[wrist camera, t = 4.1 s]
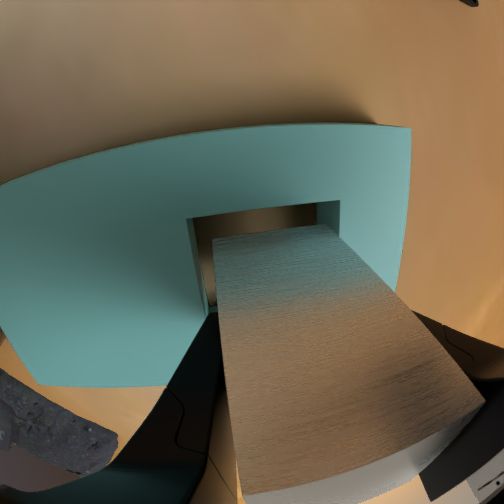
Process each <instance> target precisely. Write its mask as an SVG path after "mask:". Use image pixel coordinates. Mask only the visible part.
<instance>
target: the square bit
mask: <svg viewBox="0 0 504 504" xmlns="http://www.w3.org/2000/svg"><path fill="white" fill-rule="evenodd" d="M212 243H213V257H214V270H215V282H216V294H217V305H218V315H219V325H220V335H221V345H222V354H223V363H224V372H225V380H226V388H227V396H228V404H229V412H230V419H231V427H232V434H233V441H234V447H235V454H236V461H237V467H238V473H239V479H240V486H241V491H242V496H243V498H244V500H245V502H246V503H247V504H358V503H361V502H364V501H366V500H369V499H371V498H374V497H376V496H379V495H381V494H383V493H386V492H388V491H390V490H392V489H394V488H397V487H399V486H401V485H403V484H405V483H407V482H409V481H411V480H412V479H413V478H414V477H415V476H416V475H418V474H419V473H420V472H421V471H422V470H423V469H425V468H426V467H427V466H428V465H429V464H430V463H431V462H432V461H433V460H434V459H435V458H436V457H437V456H438V455H439V454H440V453H441V452H442V451H443V450H444V449H445V448H446V447H447V446H448V445H449V444H450V443H451V442H452V441H453V440H454V439H455V438H456V437H457V436H458V434H459V433H460V432H461V431H462V430H463V429H464V428H465V427H466V425H467V424H468V423H469V422H470V421H471V419H472V418H473V417H474V416H475V415H476V413H477V412H478V411H479V410H480V408H481V407H482V406H483V404H484V403H485V402H486V401H485V399H484V398H483V397H482V395H481V394H480V393H479V391H478V390H477V389H476V387H475V386H474V385H473V383H472V382H471V381H470V379H469V378H468V377H467V376H466V374H465V373H464V372H463V371H462V369H461V368H460V367H459V366H458V364H457V363H456V362H455V361H454V359H453V358H452V357H451V356H450V355H449V353H448V352H447V351H446V350H445V349H444V347H443V346H442V345H441V344H440V343H439V342H438V340H437V339H436V338H435V337H434V336H433V335H432V333H431V332H430V331H429V330H428V329H427V328H426V326H425V325H424V324H423V323H422V322H421V321H420V320H419V319H418V317H417V316H416V315H415V314H414V313H413V312H412V311H411V310H410V309H409V308H408V306H407V305H406V304H405V303H404V302H403V301H402V300H401V299H400V298H399V297H398V296H397V295H396V293H395V292H394V291H393V290H392V289H391V288H390V287H389V286H388V285H387V284H386V283H385V282H384V281H383V280H382V279H381V278H380V277H379V276H378V275H377V274H376V273H375V272H374V271H373V270H372V269H371V268H370V267H369V265H368V264H367V263H366V262H365V261H364V260H363V259H362V258H361V257H360V256H359V255H358V254H356V253H355V252H354V251H353V250H352V249H351V248H350V247H349V246H348V245H347V244H346V243H345V242H344V241H343V240H342V239H341V238H340V237H339V236H338V235H337V234H336V233H335V232H334V231H333V230H332V229H331V228H330V227H328V226H327V225H326V224H318V225H310V226H302V227H295V228H287V229H279V230H272V231H264V232H257V233H249V234H242V235H235V236H228V237H221V238H214V239H212Z"/></svg>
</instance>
